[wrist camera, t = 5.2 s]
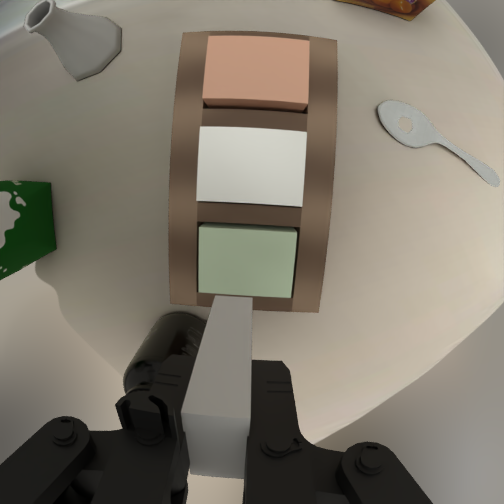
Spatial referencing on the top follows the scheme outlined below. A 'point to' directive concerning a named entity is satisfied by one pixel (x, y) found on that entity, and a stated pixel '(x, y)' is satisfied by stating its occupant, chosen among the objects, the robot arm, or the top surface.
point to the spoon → (426, 135)
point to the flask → (76, 37)
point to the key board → (301, 218)
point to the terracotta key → (256, 73)
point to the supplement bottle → (163, 349)
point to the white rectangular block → (251, 165)
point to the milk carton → (24, 224)
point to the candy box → (395, 6)
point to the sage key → (246, 259)
